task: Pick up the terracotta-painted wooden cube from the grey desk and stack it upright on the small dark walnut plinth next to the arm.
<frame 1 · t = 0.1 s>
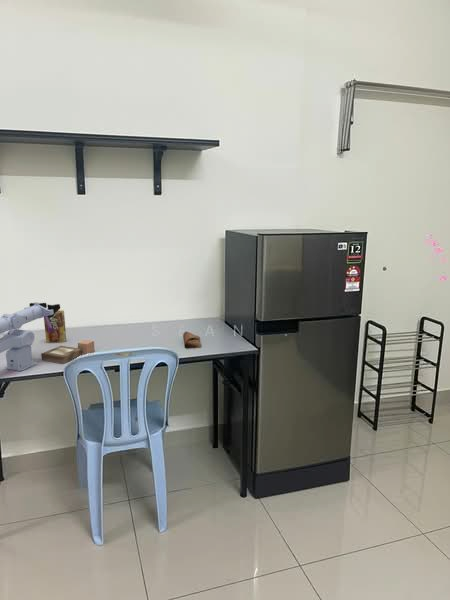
hand: (52, 305, 198), 22 cm above the table, tool horizontal, fingers open, 7 cm apart
plinth: (62, 357, 195), on the table
cube: (86, 352, 202), on the table
candy box: (56, 341, 219), on the table
sunglasses case: (192, 343, 216), on the table
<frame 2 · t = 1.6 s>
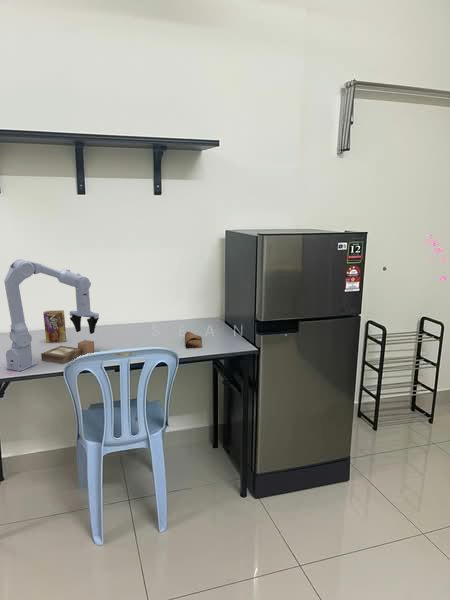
hand: (85, 332, 200), 9 cm above the table, tool pointing down, fingers open, 7 cm apart
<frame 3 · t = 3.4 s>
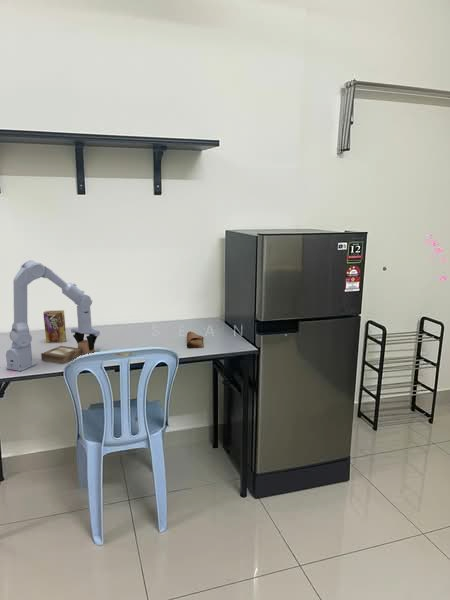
hand: (86, 349, 202), 1 cm above the table, tool pointing down, fingers closed on cube, 5 cm apart
cube: (86, 352, 202), on the table, touching gripper
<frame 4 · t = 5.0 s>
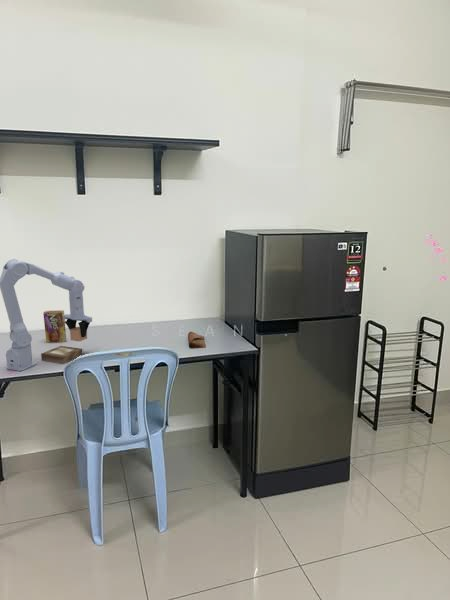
hand: (78, 336, 198), 8 cm above the table, tool pointing down, fingers closed on cube, 5 cm apart
cube: (79, 339, 199), point 7 cm above the table, touching gripper
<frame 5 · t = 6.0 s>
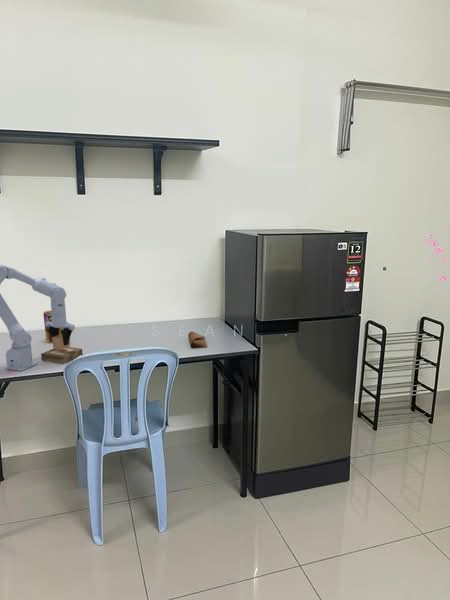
hand: (61, 344, 194), 6 cm above the table, tool pointing down, fingers closed on cube, 5 cm apart
cube: (61, 347, 194), point 5 cm above the table, touching gripper
when the fingers open (5 cm above the table, at t = 6.6 s): cube stays where it is, resting on plinth.
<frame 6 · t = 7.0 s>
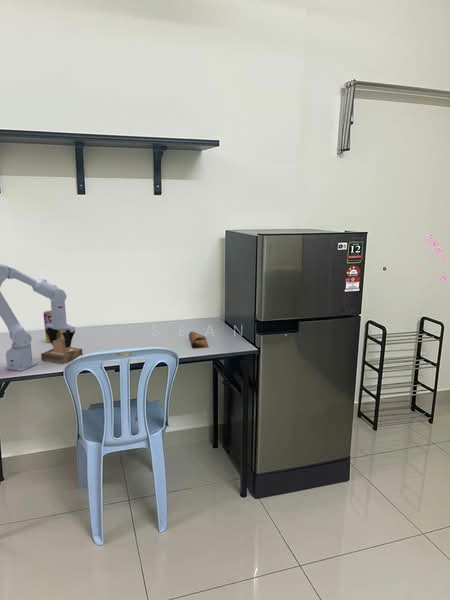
hand: (61, 346, 194), 5 cm above the table, tool pointing down, fingers open, 7 cm apart
cube: (62, 351, 194), point 3 cm above the table, touching plinth
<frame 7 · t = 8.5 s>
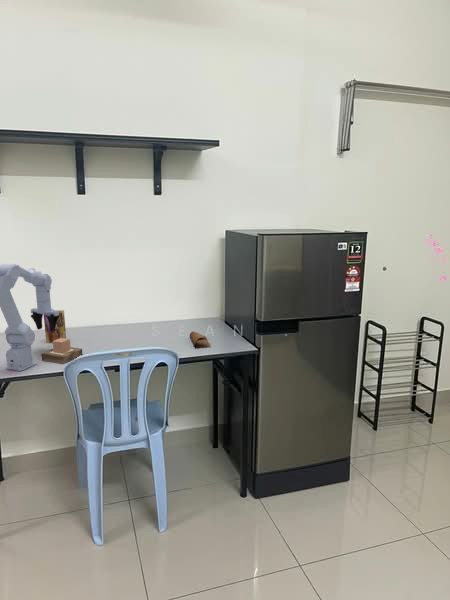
hand: (46, 329, 201), 10 cm above the table, tool pointing down, fingers open, 7 cm apart
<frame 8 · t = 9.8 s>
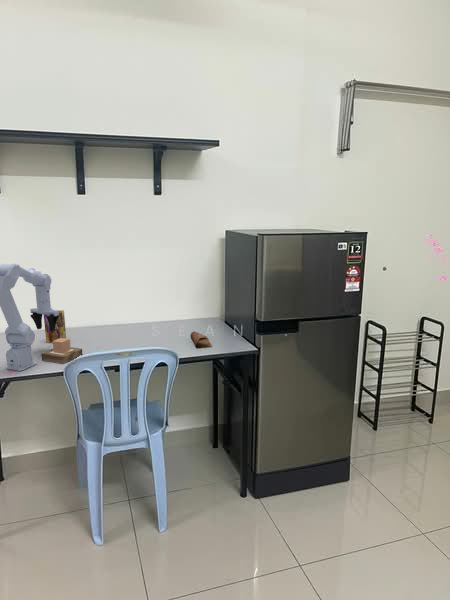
hand: (45, 329, 201), 10 cm above the table, tool pointing down, fingers open, 7 cm apart
at the end: cube inside the target area on the plinth (0.1 cm from its centre), point 3.0 cm above the plinth's base; cube tilted 0°; the gripper is holding nothing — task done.
